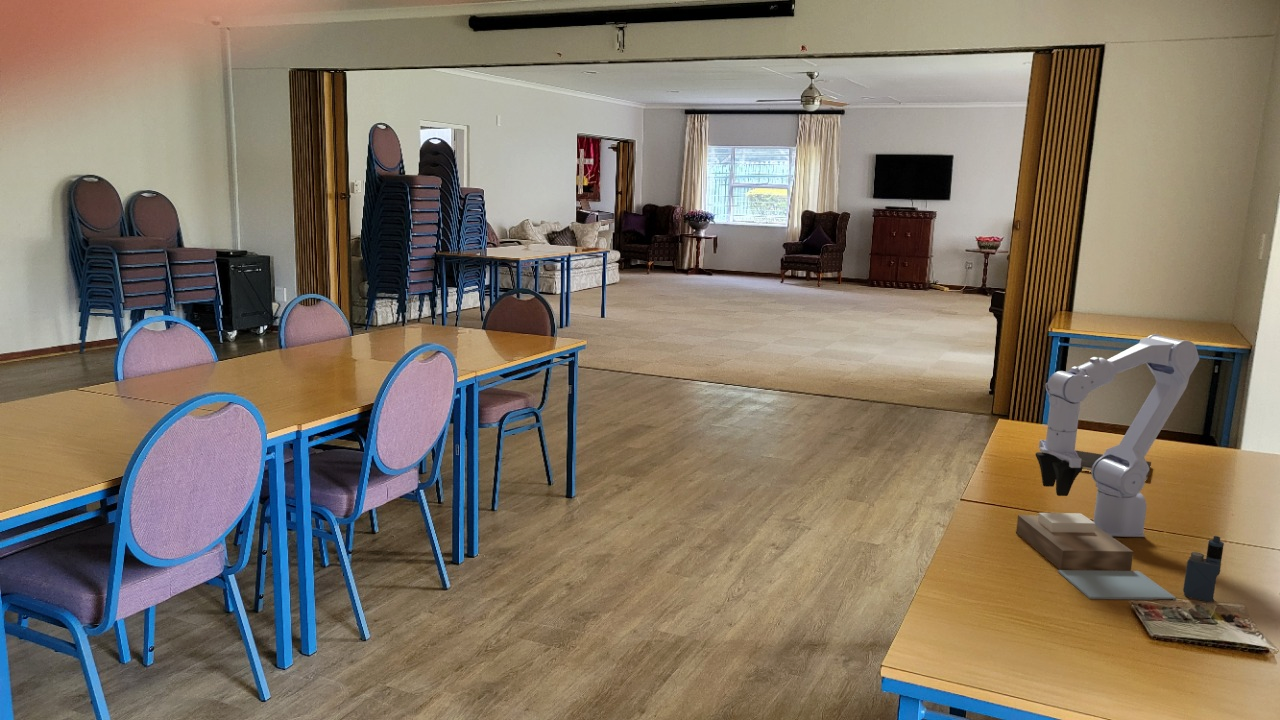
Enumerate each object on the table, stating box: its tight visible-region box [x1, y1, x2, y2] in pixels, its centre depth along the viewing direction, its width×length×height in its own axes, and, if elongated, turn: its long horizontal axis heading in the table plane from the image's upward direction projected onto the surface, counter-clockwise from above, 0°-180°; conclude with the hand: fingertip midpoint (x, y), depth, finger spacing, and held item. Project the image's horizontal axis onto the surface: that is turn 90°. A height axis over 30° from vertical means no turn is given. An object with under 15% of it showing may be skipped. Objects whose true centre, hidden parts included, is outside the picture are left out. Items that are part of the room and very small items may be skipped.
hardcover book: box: [1061, 449, 1152, 481], centre depth 255 cm, size 16×23×2 cm
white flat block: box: [1038, 512, 1095, 533], centre depth 195 cm, size 9×6×2 cm, turn 92°
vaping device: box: [1182, 535, 1225, 603], centre depth 171 cm, size 3×5×12 cm, turn 58°
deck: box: [1015, 514, 1134, 571], centre depth 193 cm, size 14×20×4 cm
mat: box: [1057, 569, 1177, 601], centre depth 176 cm, size 16×12×1 cm
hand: (1055, 490), depth 200 cm, fingers open, 6 cm apart
